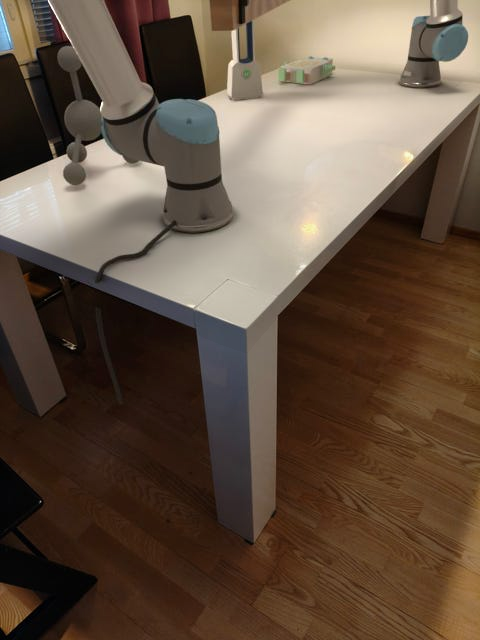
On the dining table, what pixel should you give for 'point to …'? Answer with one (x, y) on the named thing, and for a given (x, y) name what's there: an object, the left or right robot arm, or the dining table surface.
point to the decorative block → (306, 70)
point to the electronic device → (244, 68)
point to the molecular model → (79, 120)
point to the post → (227, 12)
